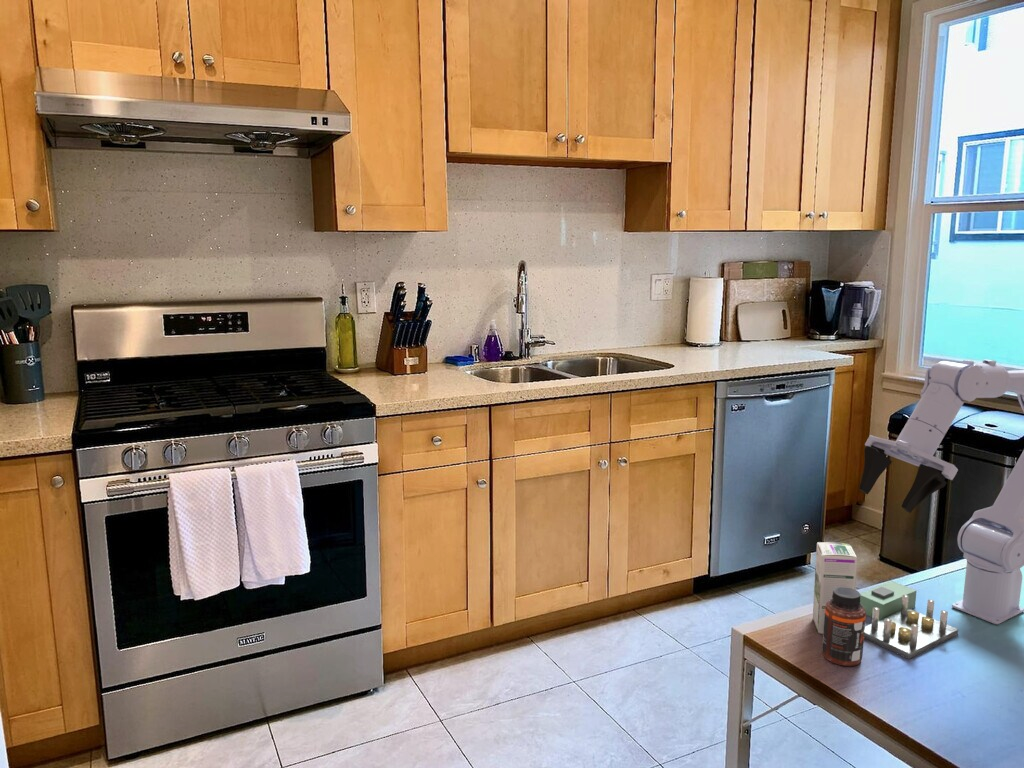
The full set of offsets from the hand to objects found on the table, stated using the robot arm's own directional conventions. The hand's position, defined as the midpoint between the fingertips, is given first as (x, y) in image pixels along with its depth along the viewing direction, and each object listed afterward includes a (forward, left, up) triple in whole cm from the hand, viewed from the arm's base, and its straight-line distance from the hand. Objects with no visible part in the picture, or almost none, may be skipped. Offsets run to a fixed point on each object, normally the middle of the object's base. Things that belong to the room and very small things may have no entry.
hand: (883, 500), depth 124 cm
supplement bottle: (+9, +1, -25) cm, 26 cm away
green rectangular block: (-12, -5, -25) cm, 28 cm away
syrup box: (+2, -6, -25) cm, 26 cm away
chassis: (-7, +2, -24) cm, 25 cm away
